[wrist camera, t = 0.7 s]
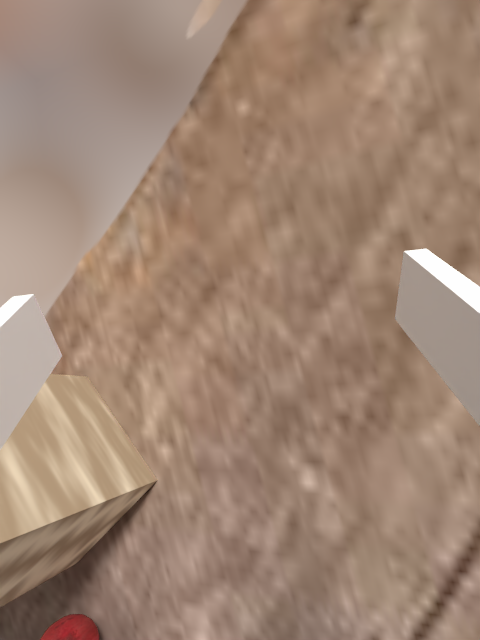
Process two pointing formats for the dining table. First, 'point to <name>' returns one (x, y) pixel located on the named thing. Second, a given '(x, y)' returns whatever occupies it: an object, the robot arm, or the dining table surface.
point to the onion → (72, 629)
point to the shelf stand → (62, 483)
